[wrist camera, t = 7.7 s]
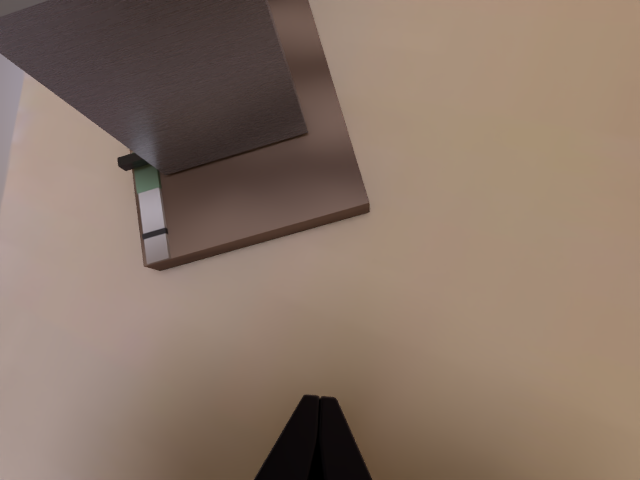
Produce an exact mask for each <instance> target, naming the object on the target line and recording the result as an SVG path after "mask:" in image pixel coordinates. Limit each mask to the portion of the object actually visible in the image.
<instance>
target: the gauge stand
mask: <svg viewBox="0 0 640 480" xmlns="http://www.w3.org/2000/svg"><path fill="white" fill-rule="evenodd" d="M268 3H269V6H270V9H271V12H272V16H273V19H274V22H275V25H276V28H277V31H278V34H279V38H280V41H281V44H282V47H283V50H284V53H285V56H286V60H287V63H288V66H289V69H290V72H291V75H292V78H293V82H294V85H295V88H296V91H297V94H298V97H299V101H300V104H301V108H302V112H303V115H304V119H305V123H306V127H307V130H308V133H305V134H301V135H298V136H295V137H291V138H288V139H285V140H281V141H278V142H275V143H271V144H268V145H265V146H261V147H258V148H255V149H251V150H248V151H245V152H241V153H238V154H235V155H231V156H228V157H225V158H221V159H218V160H215V161H211V162H208V163H205V164H201V165H198V166H195V167H191V168H188V169H185V170H181V171H178V172H175V173H171V174H168V175H164V174H163V173H162V172H160V171H159V170H157V169H156V168H155V167H153V166H152V165H151V164H147V165H144V166H141V167H138V168H134V169H132V172H133V180H134V189H135V197H136V205H137V213H138V222H139V230H140V238H141V246H142V255H143V263H144V266H145V267H148V268H152V269H156V270H159V271H161V270H164V269H168V268H172V267H175V266H179V265H182V264H186V263H189V262H193V261H197V260H200V259H204V258H207V257H211V256H214V255H218V254H221V253H225V252H229V251H232V250H236V249H239V248H243V247H246V246H250V245H254V244H257V243H261V242H264V241H268V240H271V239H275V238H279V237H282V236H286V235H289V234H293V233H296V232H300V231H304V230H307V229H311V228H314V227H318V226H321V225H325V224H328V223H332V222H336V221H339V220H343V219H346V218H350V217H353V216H357V215H361V214H364V213H368V212H369V200H368V197H367V194H366V190H365V187H364V184H363V180H362V177H361V174H360V171H359V167H358V164H357V161H356V157H355V154H354V151H353V147H352V144H351V141H350V137H349V134H348V131H347V128H346V124H345V121H344V118H343V114H342V111H341V108H340V104H339V101H338V98H337V95H336V91H335V88H334V85H333V81H332V78H331V75H330V71H329V68H328V65H327V61H326V58H325V55H324V52H323V48H322V45H321V42H320V38H319V35H318V32H317V28H316V25H315V22H314V18H313V15H312V12H311V9H310V5H309V2H308V0H268ZM132 153H134V152H133V151H132V150H130V154H132Z"/></svg>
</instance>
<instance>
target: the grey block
mask: <svg viewBox="0 0 640 480" xmlns="http://www.w3.org/2000/svg"><path fill="white" fill-rule="evenodd" d="M0 53H1V54H2V55H3V56H5V57H6V58H7V59H9V60H10V61H11V62H13V63H14V64H15V65H17V66H18V67H19V68H21V69H22V70H23V71H25V72H26V73H28V74H29V75H30V76H32V77H33V78H34V79H36V80H37V81H38V82H40V83H41V84H42V85H44V86H45V87H46V88H48V89H49V90H51V91H52V92H53V93H55V94H56V95H57V96H59V97H60V98H61V99H63V100H64V101H65V102H67V103H68V104H69V105H71V106H72V107H74V108H75V109H76V110H78V111H79V112H80V113H82V114H83V115H84V116H86V117H87V118H88V119H90V120H91V121H92V122H94V123H95V124H97V125H98V126H99V127H101V128H102V129H103V130H105V131H106V132H107V133H109V134H110V135H111V136H113V137H114V138H116V139H117V140H118V141H120V142H121V143H122V144H124V145H125V146H126V147H128V148H129V149H130V150H132V151H133V152H134V153H132V154H129V155H125V156H122V157H119V158H118V166H119V167H120V168H122V169H123V170H125V171H128V170H131V169H134V168H138V167H141V166H144V165H147V164H151V165H152V166H153V167H155V168H156V169H157V170H159V171H160V172H162V173H163V174H164V175H168V174H171V173H175V172H178V171H181V170H185V169H188V168H191V167H195V166H198V165H201V164H205V163H208V162H211V161H215V160H218V159H221V158H225V157H228V156H231V155H235V154H238V153H241V152H245V151H248V150H251V149H255V148H258V147H261V146H265V145H268V144H271V143H275V142H278V141H281V140H285V139H288V138H291V137H295V136H298V135H301V134H305V133H308V130H307V127H306V123H305V119H304V115H303V112H302V108H301V104H300V101H299V97H298V94H297V91H296V88H295V85H294V82H293V78H292V75H291V72H290V69H289V66H288V63H287V60H286V56H285V53H284V50H283V47H282V44H281V41H280V38H279V34H278V31H277V28H276V25H275V22H274V19H273V16H272V12H271V9H270V6H269V3H268V0H0Z"/></svg>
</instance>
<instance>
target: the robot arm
mask: <svg viewBox="0 0 640 480" xmlns="http://www.w3.org/2000/svg"><path fill="white" fill-rule="evenodd" d="M254 480H372V478H371V476H370V473H369V471H368V469H367V467H366V464H365V462H364V460H363V458H362V455H361V453H360V451H359V448H358V446H357V444H356V442H355V439H354V437H353V435H352V433H351V430H350V428H349V426H348V423H347V421H346V419H345V417H344V414H343V412H342V410H341V408H340V405H339V403H338V401H337V399H336V398H334V397H326V396H322V397H321V398H319V396H317V395H304V396H303V397H302V399H301V400H300V402H299V404H298V406H297V407H296V409H295V411H294V412H293V414H292V416H291V417H290V419H289V421H288V422H287V424H286V426H285V428H284V429H283V431H282V433H281V434H280V436H279V438H278V439H277V441H276V443H275V445H274V446H273V448H272V450H271V451H270V453H269V455H268V456H267V458H266V460H265V462H264V463H263V465H262V467H261V468H260V470H259V472H258V473H257V475H256V477H255V479H254Z"/></svg>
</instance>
